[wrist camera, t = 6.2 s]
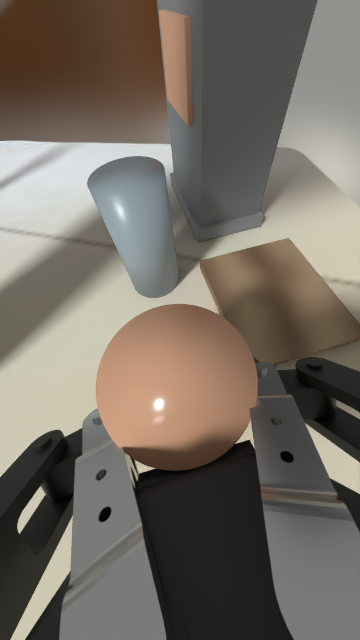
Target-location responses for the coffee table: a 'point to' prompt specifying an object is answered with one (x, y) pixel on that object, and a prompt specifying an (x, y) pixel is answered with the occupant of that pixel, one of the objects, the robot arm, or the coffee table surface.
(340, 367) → the robot arm
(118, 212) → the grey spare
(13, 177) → the coffee table surface
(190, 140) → the post
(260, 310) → the pad
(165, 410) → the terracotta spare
